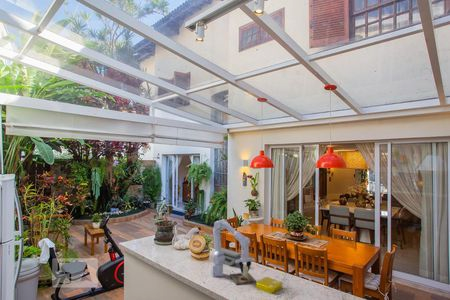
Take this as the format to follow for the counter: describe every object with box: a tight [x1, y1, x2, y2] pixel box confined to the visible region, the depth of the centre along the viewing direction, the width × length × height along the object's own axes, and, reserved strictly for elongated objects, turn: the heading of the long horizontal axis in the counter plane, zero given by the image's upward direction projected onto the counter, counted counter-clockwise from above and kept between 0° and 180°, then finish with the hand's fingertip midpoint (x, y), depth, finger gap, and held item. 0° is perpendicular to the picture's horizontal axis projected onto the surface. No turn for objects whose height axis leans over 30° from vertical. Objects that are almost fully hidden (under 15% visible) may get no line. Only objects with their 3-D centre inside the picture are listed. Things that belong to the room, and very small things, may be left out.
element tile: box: [255, 276, 283, 295], centre depth 198 cm, size 15×15×5 cm
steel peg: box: [240, 264, 249, 276], centre depth 208 cm, size 4×4×7 cm
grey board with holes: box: [229, 272, 257, 286], centre depth 212 cm, size 16×17×2 cm
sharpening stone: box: [221, 247, 241, 267], centre depth 247 cm, size 25×8×11 cm, turn 48°
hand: (244, 271), depth 208 cm, fingers closed on steel peg, 4 cm apart
